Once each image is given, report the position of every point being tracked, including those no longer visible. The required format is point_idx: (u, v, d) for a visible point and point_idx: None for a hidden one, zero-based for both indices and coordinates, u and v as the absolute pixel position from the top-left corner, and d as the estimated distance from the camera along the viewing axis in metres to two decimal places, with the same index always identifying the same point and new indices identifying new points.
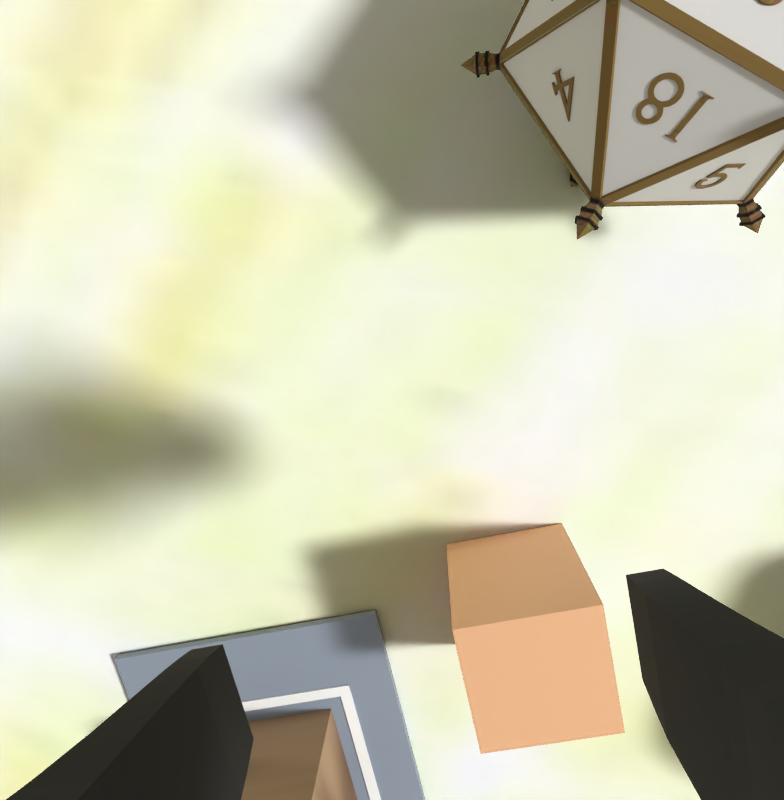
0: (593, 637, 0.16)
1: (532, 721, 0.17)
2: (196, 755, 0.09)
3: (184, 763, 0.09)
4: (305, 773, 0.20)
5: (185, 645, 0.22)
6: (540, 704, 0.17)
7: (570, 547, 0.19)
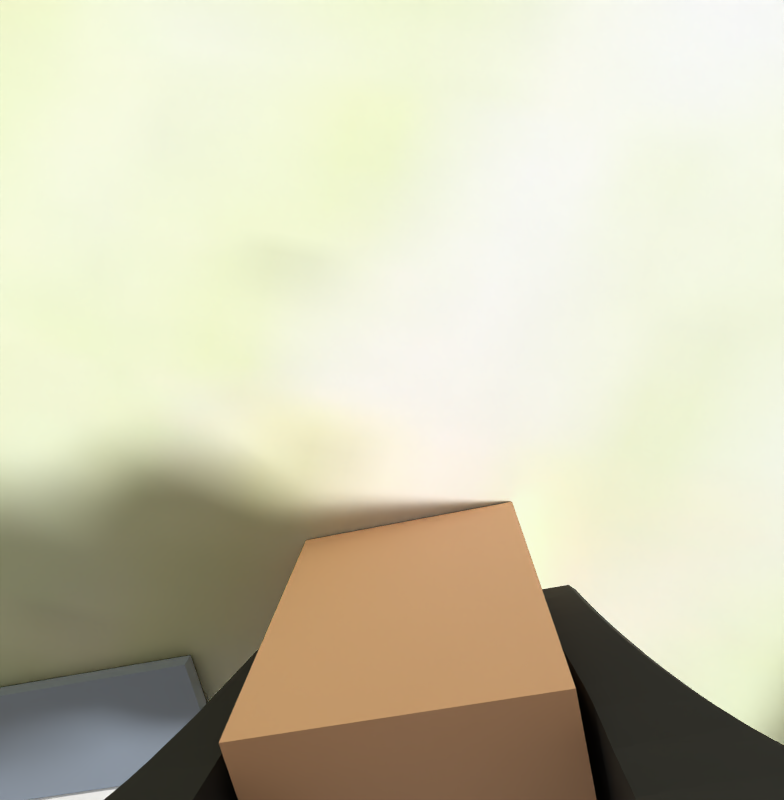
0: (554, 764, 0.07)
1: None
2: None
3: None
4: None
5: None
6: None
7: (520, 547, 0.10)
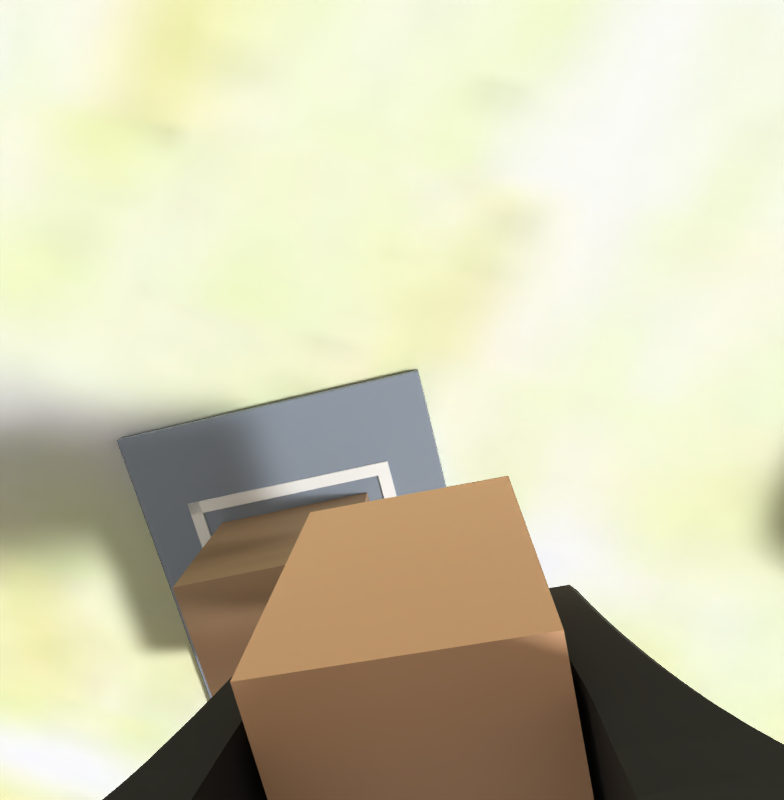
0: (543, 702, 0.07)
1: None
2: None
3: None
4: None
5: (198, 420, 0.19)
6: None
7: (515, 514, 0.10)
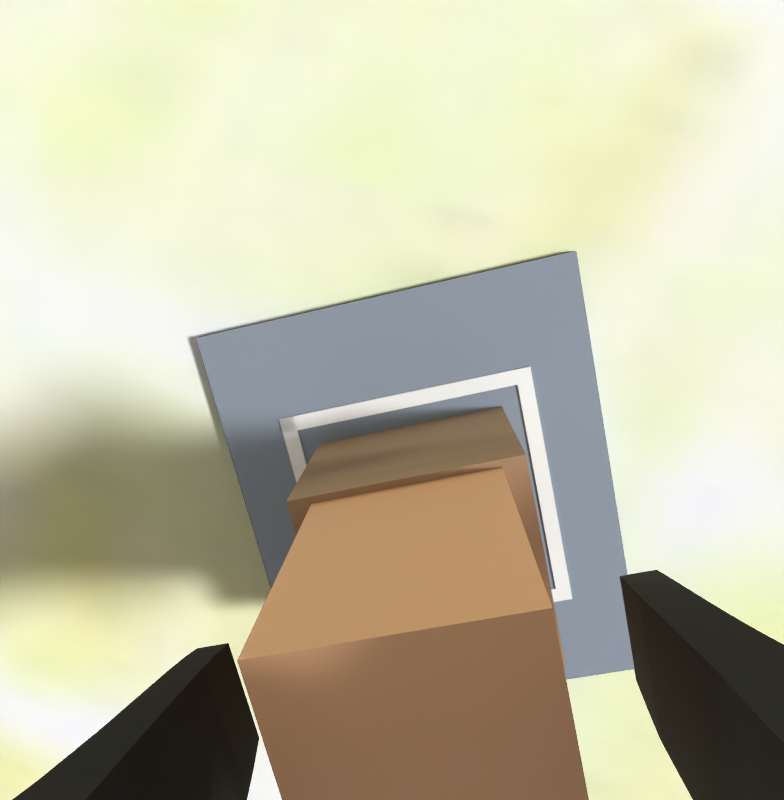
0: (534, 676, 0.07)
1: None
2: (202, 754, 0.09)
3: (190, 762, 0.09)
4: (499, 440, 0.13)
5: None
6: None
7: (509, 503, 0.10)
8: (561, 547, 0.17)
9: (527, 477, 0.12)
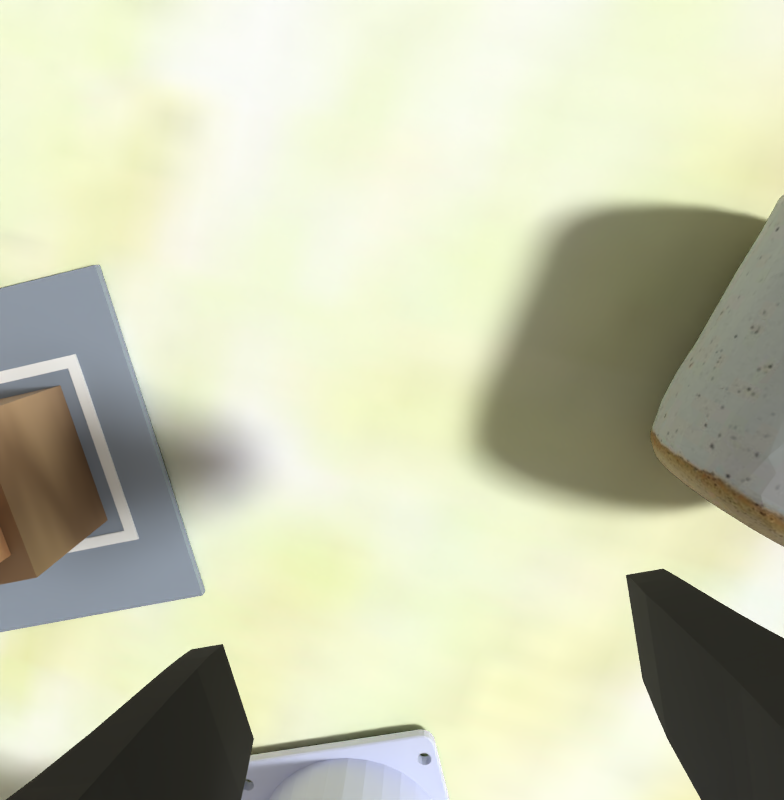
0: None
1: None
2: (196, 755, 0.09)
3: (183, 763, 0.09)
4: None
5: None
6: None
7: None
8: (122, 497, 0.21)
9: None
